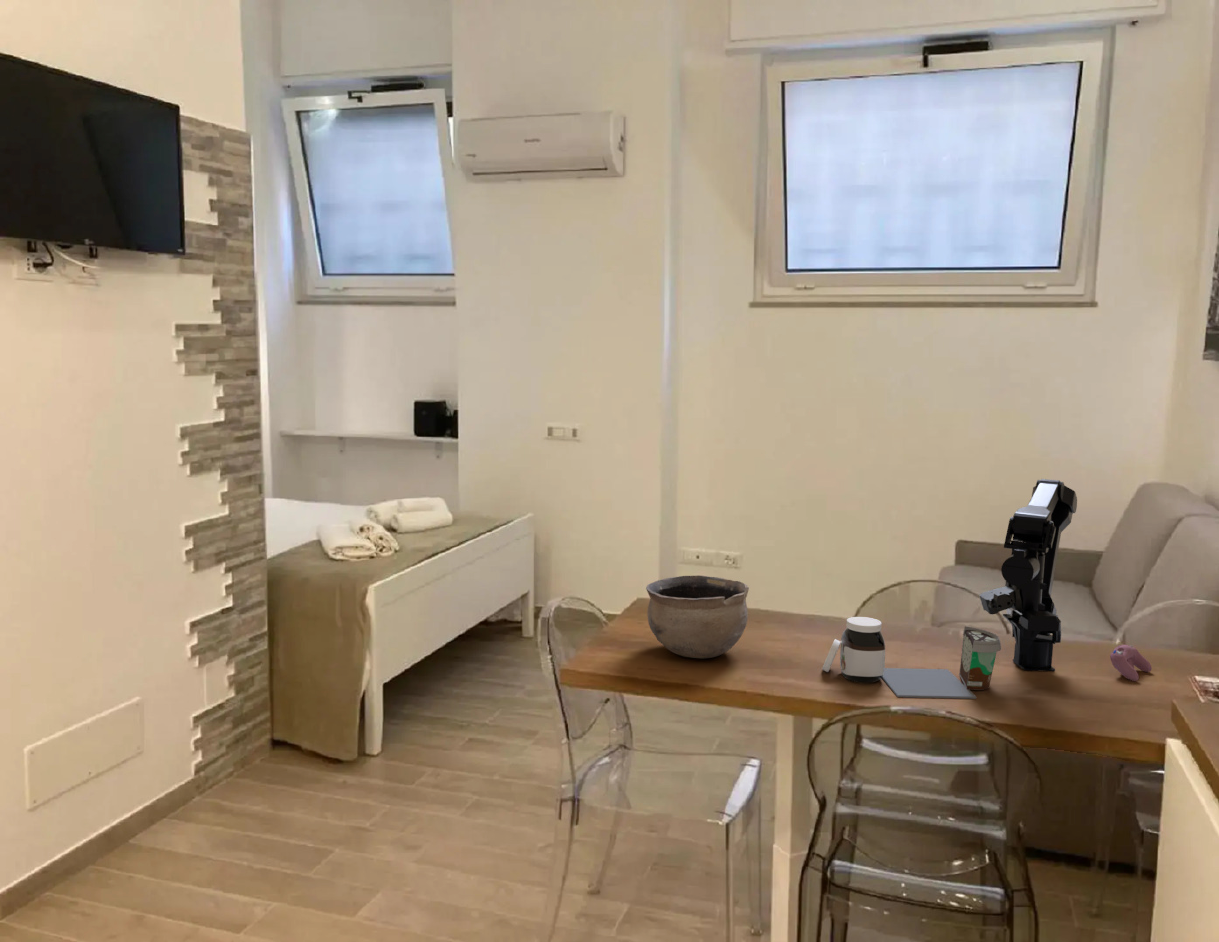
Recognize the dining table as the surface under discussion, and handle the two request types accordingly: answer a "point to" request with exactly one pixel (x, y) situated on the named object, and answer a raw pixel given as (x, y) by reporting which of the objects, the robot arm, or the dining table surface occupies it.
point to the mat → (925, 683)
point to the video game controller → (1129, 661)
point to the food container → (978, 657)
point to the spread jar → (860, 651)
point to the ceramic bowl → (697, 614)
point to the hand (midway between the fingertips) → (1021, 653)
